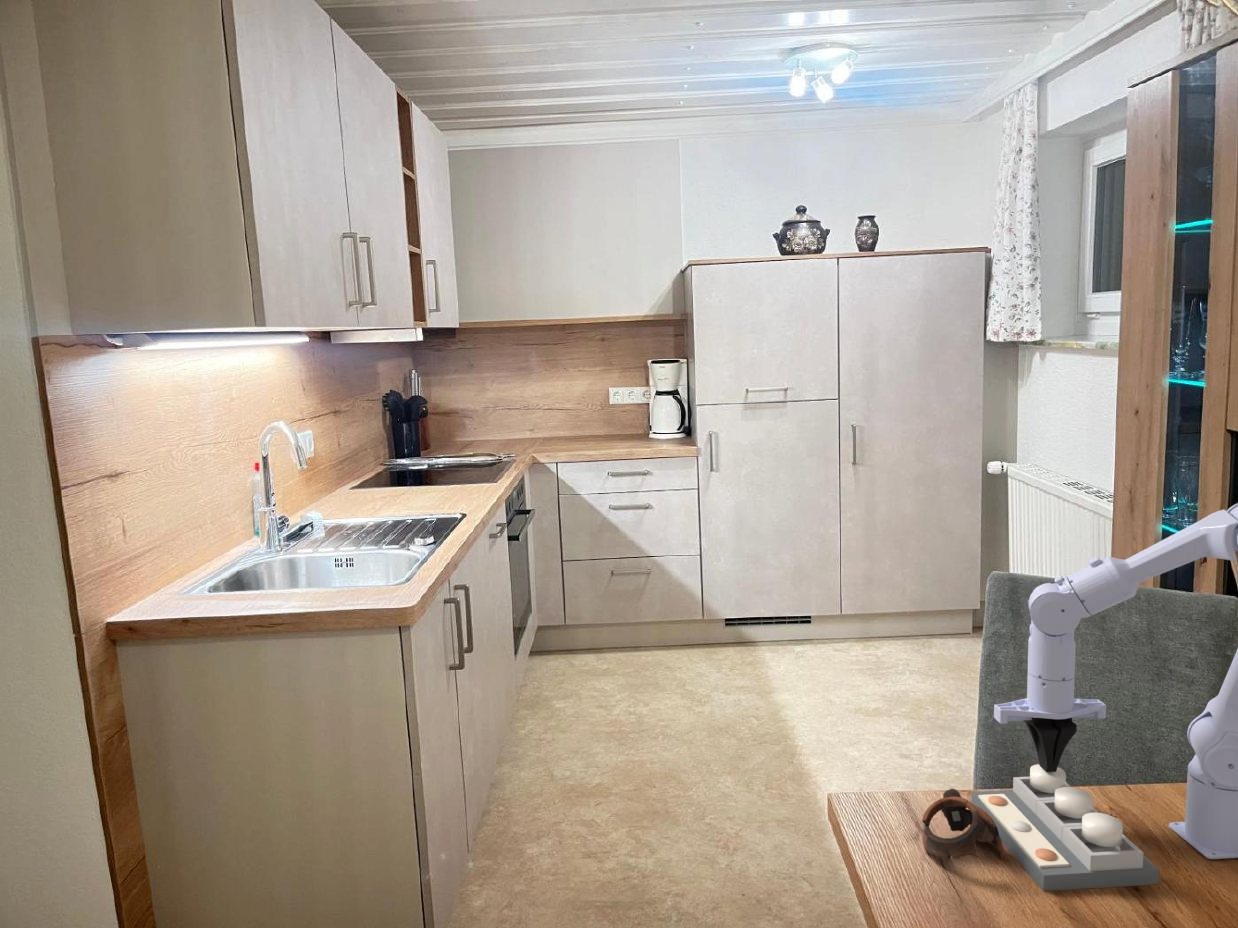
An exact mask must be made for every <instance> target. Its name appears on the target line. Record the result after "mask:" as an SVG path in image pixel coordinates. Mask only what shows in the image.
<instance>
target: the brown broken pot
mask: <svg viewBox="0 0 1238 928" xmlns="http://www.w3.org/2000/svg"><path fill="white" fill-rule="evenodd" d="M940 811H941V813H943V816H944V817H945V818H946V821H947V825H948V826H949V828H950V831H952V832H963V833H962V834H960V835H958V836H954V837H951V838H950V837H948V838H945V837H940V836H939V835H936V834H934V833H933V832H932V830H930V829H931V828H930V825H931V821H932V820H933V817H935V816H936V814H937V813H938V812H940ZM921 821H922V823H923V829H922V830H923V832H922V838H921V840H922V844H923V848H924V850H925V851H924V852H925V853H926V854H927V855H929V854H930V855H933V856H936V857H939V858H942V859H945V860H950V859H951V858H953V859H960V858H962V857H966V856H972V857H973V858H979V854H978V849H977V844H976V841H979V842H981V843H984V842H987V843H990V844H992V845H994V846H995V847H996V848H997V849H998V851H999V857H1000V859H1001V861H1005V860H1006V859H1005V858H1006V857H1005V851H1004V844H1003V842H1002V840H1001V838H1000V836H999V833H998V828H997V826H996V825H995V823H994V821H993V819H992V818H991V817H990V816H989V815H988V814H987V813H986V812H985V811H984V810H983V809H981V808H979V807H978V806H976V805H974V804H972V803H971V800H970V801H969V800H968V799H966V798H964V797H962V795H961V793H960V792H959V791H958V789H956V788H950V789H948V790H947V789H946V790H945V791H944V792H943V795H942V798H940V799H937V800H936V801H934V802H933V803H932V804H931V805H929V806H928V808H927V809H926V810H925V811H924V813H923V816H922V820H921ZM967 828H968V829H967ZM965 829H966V831H964V830H965Z"/></svg>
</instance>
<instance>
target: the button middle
mask: <svg viewBox="0 0 1238 928" xmlns="http://www.w3.org/2000/svg"><path fill="white" fill-rule="evenodd" d="M1093 802H1094V797H1093V795H1091V793H1089V792H1088V791H1086V790H1083V789H1080V788H1077V787H1072V786H1071V787H1061V788H1058V789H1056V790H1055V801H1054V808H1055V810H1056V811H1057V812H1059V813H1060V814H1062V815H1064V816H1067V817H1071V818H1077V819H1082V817H1083V815H1085V814H1087V813H1092V807H1094V805H1093V804H1094V803H1093Z"/></svg>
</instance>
